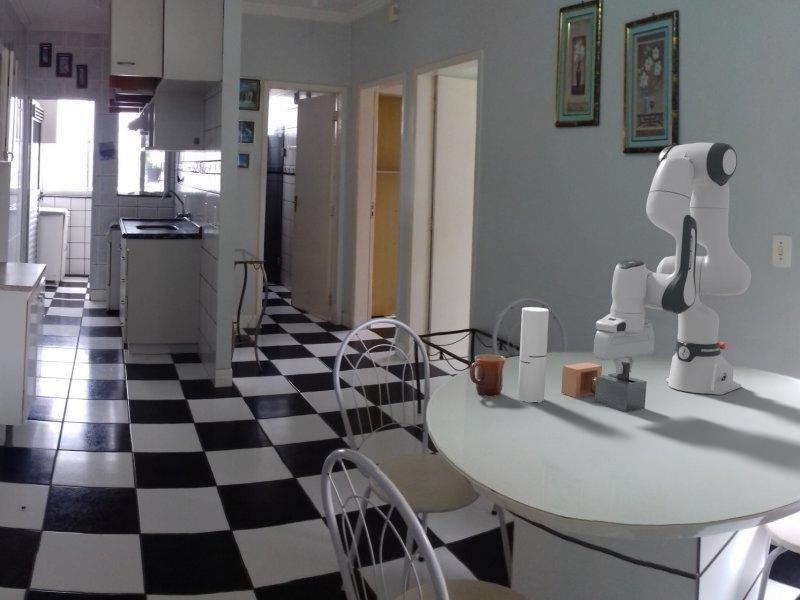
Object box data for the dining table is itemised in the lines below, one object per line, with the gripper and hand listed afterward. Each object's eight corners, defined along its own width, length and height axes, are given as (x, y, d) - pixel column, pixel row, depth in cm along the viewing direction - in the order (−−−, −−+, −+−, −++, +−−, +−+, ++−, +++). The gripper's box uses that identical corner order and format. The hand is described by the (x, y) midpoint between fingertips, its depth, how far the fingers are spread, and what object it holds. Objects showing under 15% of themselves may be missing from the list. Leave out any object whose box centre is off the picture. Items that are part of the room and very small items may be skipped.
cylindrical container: (543, 403, 216) (548, 312, 212) (516, 401, 217) (521, 310, 214) (544, 396, 223) (549, 308, 219) (518, 394, 224) (522, 306, 220)
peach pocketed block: (586, 389, 232) (587, 362, 231) (600, 393, 228) (601, 365, 227) (561, 393, 227) (562, 365, 226) (575, 397, 222) (576, 369, 221)
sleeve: (613, 398, 222) (615, 372, 221) (644, 408, 213) (646, 381, 212) (594, 402, 218) (596, 375, 217) (625, 412, 209) (627, 384, 208)
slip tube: (602, 392, 224) (604, 354, 222) (636, 403, 214) (639, 363, 213) (589, 395, 221) (592, 356, 220) (623, 405, 211) (626, 365, 210)
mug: (487, 388, 231) (489, 353, 229) (511, 394, 224) (512, 358, 223) (458, 394, 223) (459, 358, 222) (481, 401, 217) (483, 364, 215)
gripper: (643, 317, 220) (639, 366, 222) (591, 322, 209) (588, 374, 211) (662, 320, 215) (658, 371, 217) (609, 326, 204) (606, 379, 206)
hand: (623, 372), depth 214 cm, fingers closed on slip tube
